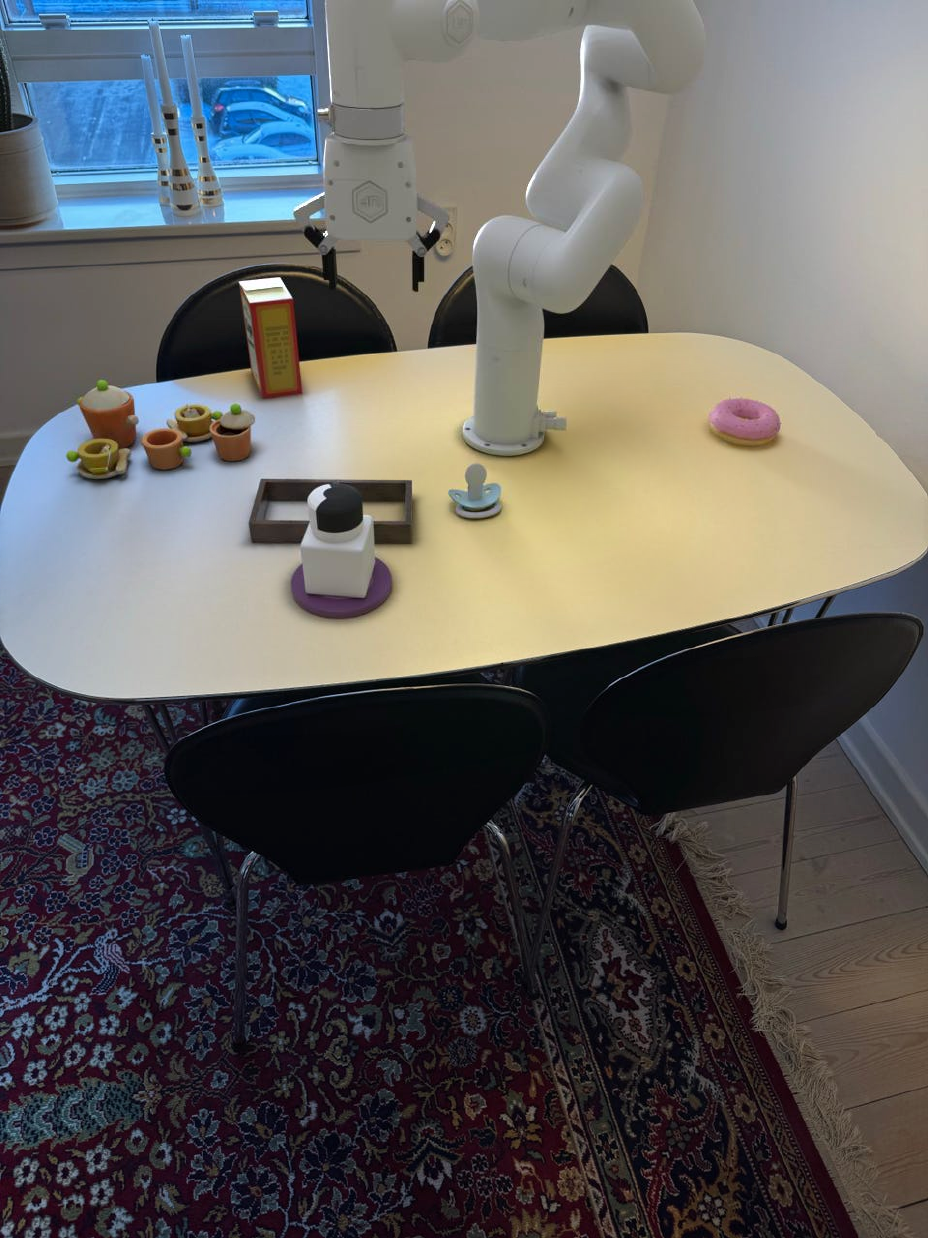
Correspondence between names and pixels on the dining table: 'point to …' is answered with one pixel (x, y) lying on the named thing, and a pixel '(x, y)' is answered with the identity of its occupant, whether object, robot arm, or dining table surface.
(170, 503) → the dining table surface
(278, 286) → the baking soda box
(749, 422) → the doughnut
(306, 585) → the medicine bottle
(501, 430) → the robot arm
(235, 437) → the toy tea set
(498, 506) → the pacifier
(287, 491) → the frame
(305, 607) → the lid
